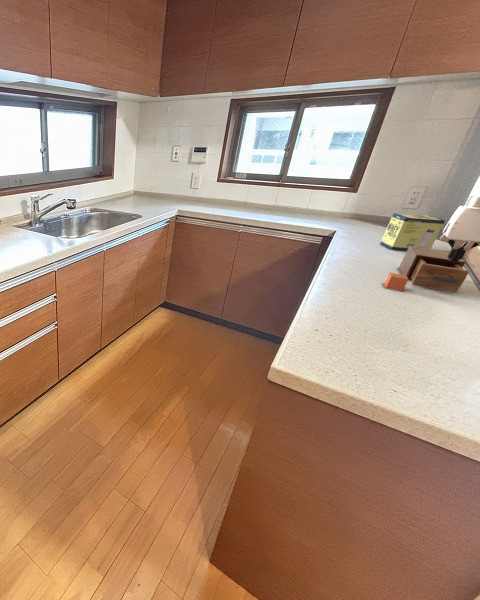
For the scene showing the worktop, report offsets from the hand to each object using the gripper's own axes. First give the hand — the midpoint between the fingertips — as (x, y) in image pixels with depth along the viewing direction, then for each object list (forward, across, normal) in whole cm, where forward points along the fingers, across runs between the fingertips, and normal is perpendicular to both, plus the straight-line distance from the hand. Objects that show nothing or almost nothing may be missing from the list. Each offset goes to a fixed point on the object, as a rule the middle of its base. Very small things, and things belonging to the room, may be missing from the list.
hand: (452, 260), depth 106 cm
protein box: (+12, 0, -64) cm, 65 cm away
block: (+11, +12, +4) cm, 17 cm away
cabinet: (+12, 0, -17) cm, 21 cm away
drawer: (+11, 0, -6) cm, 12 cm away
